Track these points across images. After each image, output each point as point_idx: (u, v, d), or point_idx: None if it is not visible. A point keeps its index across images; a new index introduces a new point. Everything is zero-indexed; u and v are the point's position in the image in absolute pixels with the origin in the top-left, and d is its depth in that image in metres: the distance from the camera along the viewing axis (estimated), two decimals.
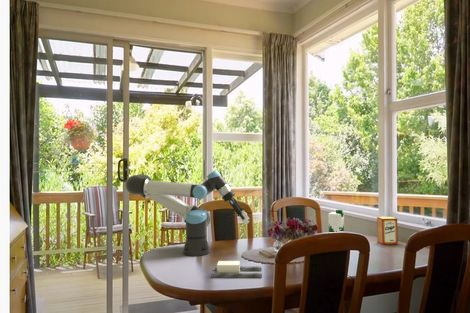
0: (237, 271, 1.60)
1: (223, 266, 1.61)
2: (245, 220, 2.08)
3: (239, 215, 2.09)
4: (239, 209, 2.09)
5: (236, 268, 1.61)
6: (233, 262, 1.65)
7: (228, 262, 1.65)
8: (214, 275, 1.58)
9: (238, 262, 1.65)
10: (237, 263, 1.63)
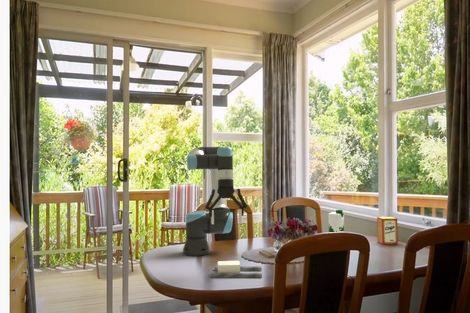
0: (238, 271, 1.61)
1: (224, 266, 1.61)
2: (211, 219, 1.69)
3: (211, 210, 1.71)
4: (212, 204, 1.70)
5: (236, 268, 1.61)
6: (233, 262, 1.65)
7: (228, 262, 1.65)
8: (214, 275, 1.58)
9: (238, 262, 1.65)
10: (237, 263, 1.64)
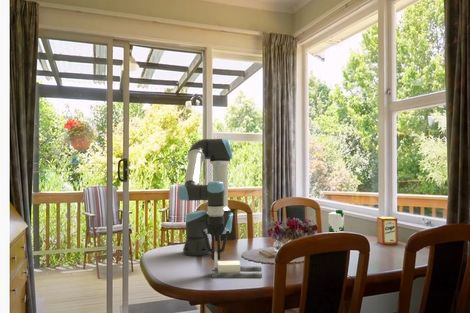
0: (238, 271, 1.61)
1: (224, 266, 1.61)
2: None
3: (215, 252, 1.65)
4: None
5: (237, 268, 1.61)
6: (233, 262, 1.65)
7: (228, 262, 1.65)
8: (214, 275, 1.58)
9: (238, 262, 1.65)
10: (237, 263, 1.63)
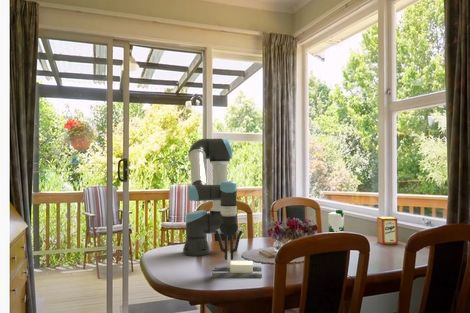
0: (250, 271, 1.60)
1: (236, 266, 1.60)
2: None
3: (228, 252, 1.65)
4: None
5: (249, 268, 1.60)
6: (246, 262, 1.64)
7: (241, 262, 1.64)
8: (214, 275, 1.58)
9: (251, 262, 1.64)
10: (250, 263, 1.62)
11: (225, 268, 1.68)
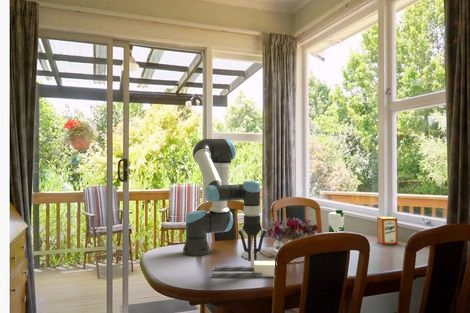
0: None
1: (260, 266, 1.59)
2: None
3: (251, 252, 1.64)
4: (248, 246, 1.63)
5: (273, 268, 1.59)
6: (269, 262, 1.64)
7: (264, 262, 1.64)
8: (214, 275, 1.58)
9: (274, 262, 1.63)
10: (274, 263, 1.62)
11: (225, 268, 1.68)
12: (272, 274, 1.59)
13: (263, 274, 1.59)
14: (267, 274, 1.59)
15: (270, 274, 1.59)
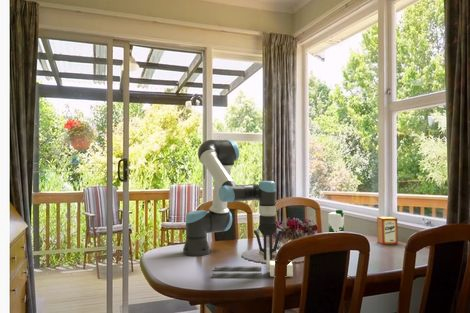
0: (290, 271, 1.59)
1: None
2: (266, 262, 1.63)
3: (266, 252, 1.64)
4: None
5: (289, 268, 1.59)
6: None
7: None
8: (214, 275, 1.58)
9: (290, 262, 1.63)
10: (290, 263, 1.62)
11: (225, 268, 1.68)
12: (288, 274, 1.59)
13: None
14: None
15: None
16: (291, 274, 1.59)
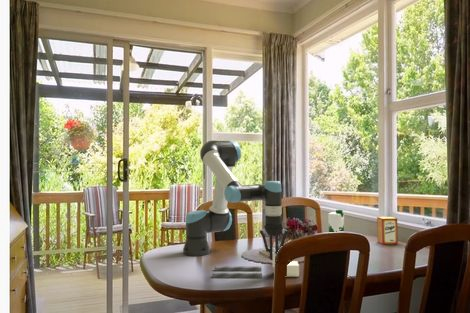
0: (297, 271, 1.59)
1: None
2: (272, 262, 1.63)
3: (272, 252, 1.64)
4: None
5: (295, 268, 1.59)
6: (291, 262, 1.63)
7: None
8: (214, 275, 1.58)
9: (296, 262, 1.63)
10: (296, 263, 1.61)
11: (225, 268, 1.68)
12: (294, 274, 1.59)
13: None
14: (289, 274, 1.59)
15: (292, 274, 1.59)
16: (297, 274, 1.59)
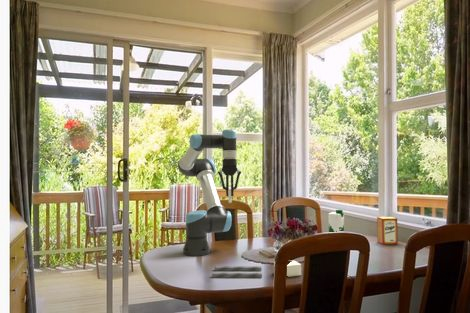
0: (299, 270, 1.60)
1: None
2: None
3: (228, 190, 1.94)
4: (226, 185, 1.92)
5: (298, 267, 1.60)
6: (291, 262, 1.64)
7: None
8: (214, 275, 1.58)
9: (295, 262, 1.64)
10: (296, 263, 1.63)
11: (225, 268, 1.68)
12: (297, 274, 1.60)
13: (289, 275, 1.59)
14: (293, 274, 1.59)
15: (295, 274, 1.60)
16: (300, 273, 1.60)
